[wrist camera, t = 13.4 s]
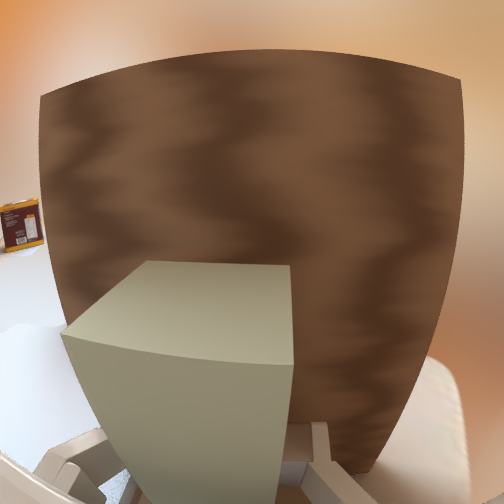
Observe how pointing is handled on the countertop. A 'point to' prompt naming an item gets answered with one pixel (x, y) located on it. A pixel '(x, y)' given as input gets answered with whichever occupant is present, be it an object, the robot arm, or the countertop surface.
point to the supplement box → (21, 224)
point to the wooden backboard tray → (272, 206)
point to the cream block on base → (193, 379)
